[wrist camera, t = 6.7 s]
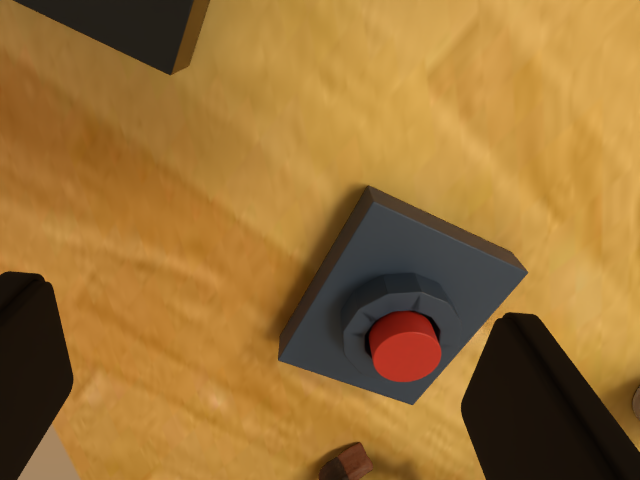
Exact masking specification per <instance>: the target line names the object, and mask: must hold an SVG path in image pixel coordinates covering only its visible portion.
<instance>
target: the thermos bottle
mask: <svg viewBox="0 0 640 480" xmlns="http://www.w3.org/2000/svg"><path fill="white" fill-rule="evenodd" d="M633 411H634V413H635V415H636V417H637V418H638V419H639V420H640V387H639V388H638V390H637V391H636V393H635V395H634V398H633Z"/></svg>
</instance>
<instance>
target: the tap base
mask: <svg viewBox="0 0 640 480" xmlns="http://www.w3.org/2000/svg"><path fill="white" fill-rule="evenodd" d="M13 1H15V2H18V3H20V4H22V5H24V6H26V7H28V8H30V9H32V10H34V11H36V12H39V13H41V14H43V15H45V16H47V17H49V18H51V19H53V20H55V21H57V22H59V23H62V24H64V25H66V26H68V27H70V28H72V29H74V30H76V31H78V32H80V33H83V34H85V35H87V36H89V37H91V38H93V39H95V40H97V41H99V42H101V43H103V44H106V45H108V46H110V47H112V48H114V49H116V50H118V51H120V52H122V53H124V54H127V55H129V56H131V57H133V58H135V59H137V60H139V61H141V62H143V63H145V64H147V65H150V66H152V67H154V68H156V69H158V70H160V71H162V72H164V73H166V74H168V75H172V74H174V73H176V72H178V71H180V70H182V69H184V68H186V67H188V66H189V65H190V62H191V58H192V55H193V52H194V49H195V46H196V43H197V40H198V37H199V33H200V30H201V27H202V24H203V21H204V18H205V15H206V11H207V8H208V5H209V2H210V0H13Z"/></svg>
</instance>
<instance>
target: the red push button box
mask: <svg viewBox="0 0 640 480" xmlns="http://www.w3.org/2000/svg"><path fill="white" fill-rule="evenodd" d="M527 274H528V271H527V270H526V269H525V268H524V266H523V265H522V264H521V263H520V262H519V260H518V259H517V258H516V257H515V256H514V254H513V253H512V252H510V251H508V250H506V249H504V248H501V247H499V246H497V245H495V244H493V243H491V242H489V241H486V240H484V239H482V238H480V237H478V236H476V235H474V234H471V233H469V232H467V231H465V230H463V229H461V228H459V227H456V226H454V225H452V224H450V223H448V222H446V221H444V220H441V219H439V218H437V217H435V216H433V215H431V214H429V213H426V212H424V211H422V210H420V209H418V208H416V207H414V206H411V205H409V204H407V203H405V202H403V201H401V200H399V199H397V198H394V197H392V196H390V195H388V194H386V193H384V192H382V191H379V190H377V189H375V188H373V187H371V186H367V188H366V189H365V191H364V193H363V195H362V196H361V198H360V200H359V201H358V203H357V205H356V207H355V208H354V210H353V212H352V213H351V215H350V217H349V219H348V220H347V222H346V224H345V225H344V227H343V229H342V231H341V232H340V234H339V236H338V237H337V239H336V241H335V243H334V244H333V246H332V248H331V249H330V251H329V253H328V255H327V256H326V258H325V260H324V261H323V263H322V265H321V267H320V268H319V270H318V272H317V273H316V275H315V277H314V279H313V280H312V282H311V284H310V285H309V287H308V289H307V291H306V292H305V294H304V296H303V297H302V299H301V301H300V303H299V304H298V306H297V308H296V309H295V311H294V313H293V315H292V316H291V318H290V320H289V321H288V323H287V325H286V327H285V328H284V330H283V332H282V333H281V335H280V341H279V352H278V360H279V361H281V362H284V363H287V364H290V365H293V366H296V367H299V368H302V369H305V370H308V371H311V372H314V373H317V374H320V375H323V376H326V377H329V378H332V379H335V380H338V381H341V382H344V383H347V384H350V385H353V386H357V387H360V388H363V389H366V390H369V391H372V392H375V393H378V394H381V395H384V396H387V397H390V398H393V399H396V400H399V401H402V402H405V403H408V404H411V405H413V404H414V403H415V402H416V401H417V400H418V399H419V398H420V396H421V395H422V394H423V393H424V392H425V391H426V389H427V388H428V387H429V386H430V385H431V384H432V383H433V381H434V380H435V379H436V378H437V377H438V376H439V375H440V373H441V372H442V371H443V370H444V369H445V368H446V367H447V365H448V364H449V363H450V362H451V361H452V360H453V359H454V357H455V356H456V355H457V354H458V353H459V352H460V350H461V349H462V348H463V347H464V346H465V345H466V344H467V342H468V341H469V340H470V339H471V338H472V337H473V336H474V334H475V333H476V332H477V331H478V330H479V329H480V328H481V326H482V325H483V324H484V323H485V322H486V321H487V320H488V318H489V317H490V316H491V315H492V314H493V313H494V311H495V310H496V309H497V308H498V307H499V306H500V305H501V303H502V302H503V301H504V300H505V299H506V298H507V297H508V295H509V294H510V293H511V292H512V291H513V290H514V289H515V287H516V286H517V285H518V284H519V283H520V282H521V280H522V279H523V278H524V277H525V276H526V275H527ZM396 311H413V312H417V313H419V314H421V315H423V316H425V317H426V318H427V319H428V320H429V321H430V323H431V324H432V327H433V330H434V332H435V335H436V337H437V340H438V342H439V345H440V348H441V359H440V362H439V364H438V366H437V367H436V368H435V369H434V370H433V371H432V372H431V373H430V374H428V375H427V376H425V377H423V378H421V379H418V380H415V381H410V382H396V381H392V380H389V379H386V378H384V377H383V376H381V375H380V374H379V373H378V372H377V371H376V369H375V367H374V365H373V360H372V354H371V349H370V344H369V333H370V330H371V328H372V326H373V325H374V324H375V322H377V321H378V320H379V319H380V318H381V317H383V316H385V315H387V314H389V313H392V312H396Z"/></svg>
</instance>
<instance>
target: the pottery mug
mask: <svg viewBox="0 0 640 480" xmlns="http://www.w3.org/2000/svg"><path fill="white" fill-rule="evenodd" d="M372 469H373V464H372V462H371V460H370V459H369V458H368V456H367V455H366V452H365V450H364V448H363V446H362V444H361V443H358V444H356V445H354V446H351V447H350V448H348V449H347V450H345V451H343V452H342V453H341V454H339V455H338V456H337V457H335V458H334V459H333V460H331V461H330V462H327V464H326V465H325V466H323V467H322V469H321V470H320V472H319V480H359V479H360V478H361V477H363V476H364V475H365V474H366V473H368V472H370V471H372Z"/></svg>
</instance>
